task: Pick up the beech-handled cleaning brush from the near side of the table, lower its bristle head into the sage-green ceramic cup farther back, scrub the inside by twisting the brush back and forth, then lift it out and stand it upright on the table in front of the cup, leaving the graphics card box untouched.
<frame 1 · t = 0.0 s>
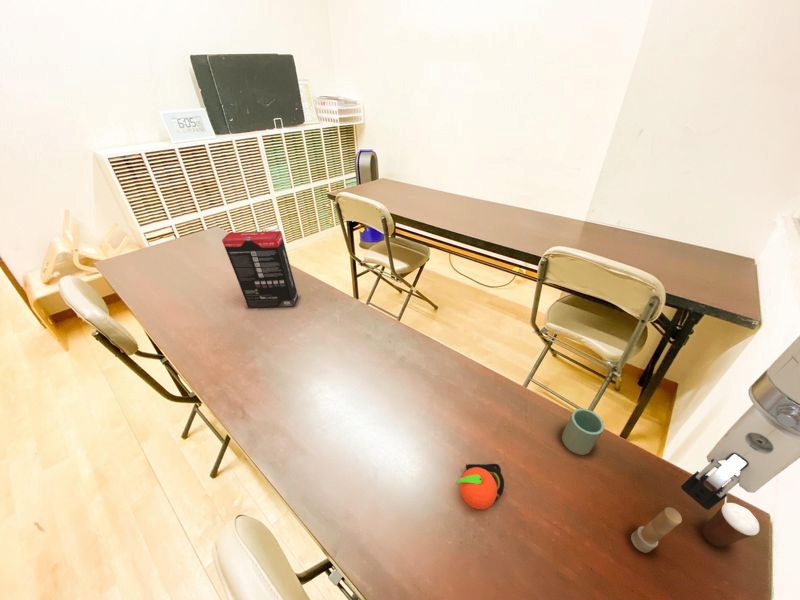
hand: (714, 479, 44), 22 cm above the table, tool pointing down, fingers open, 9 cm apart
cup: (576, 441, 72), on the table
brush: (640, 542, 56), on the table
graphics card box: (274, 303, 117), on the table
clementine: (473, 495, 63), on the table, touching tape measure
tape measure: (482, 483, 65), on the table, touching clementine
milkshake: (710, 534, 57), on the table
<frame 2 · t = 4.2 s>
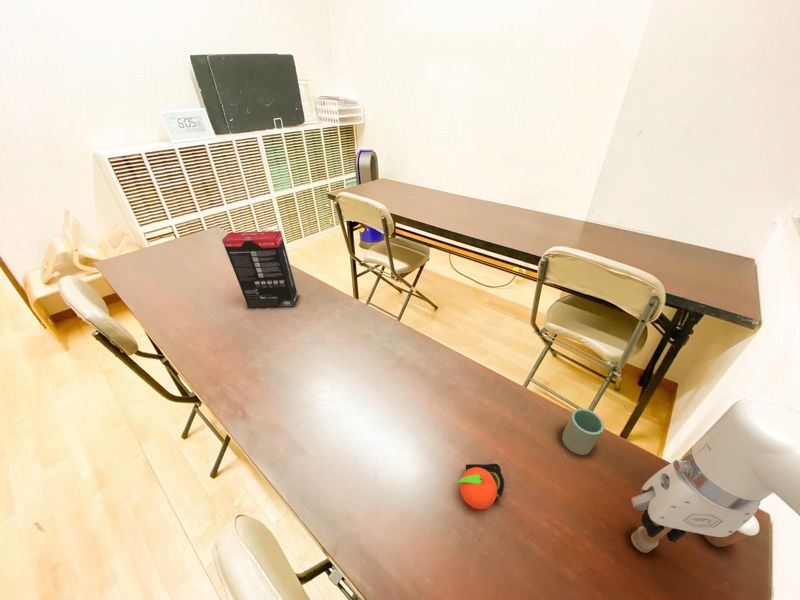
hand: (657, 528, 53), 7 cm above the table, tool pointing down, fingers closed on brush, 2 cm apart
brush: (640, 542, 56), on the table, touching gripper
everything else where it was.
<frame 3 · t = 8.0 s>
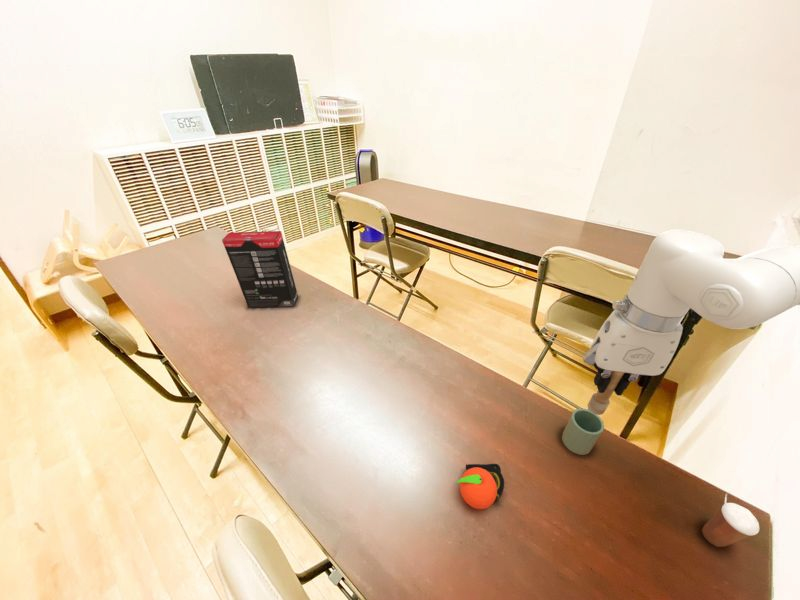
hand: (607, 387, 60), 19 cm above the table, tool pointing down, fingers closed on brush
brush: (595, 408, 64), point 13 cm above the table, touching gripper
everything else where it was.
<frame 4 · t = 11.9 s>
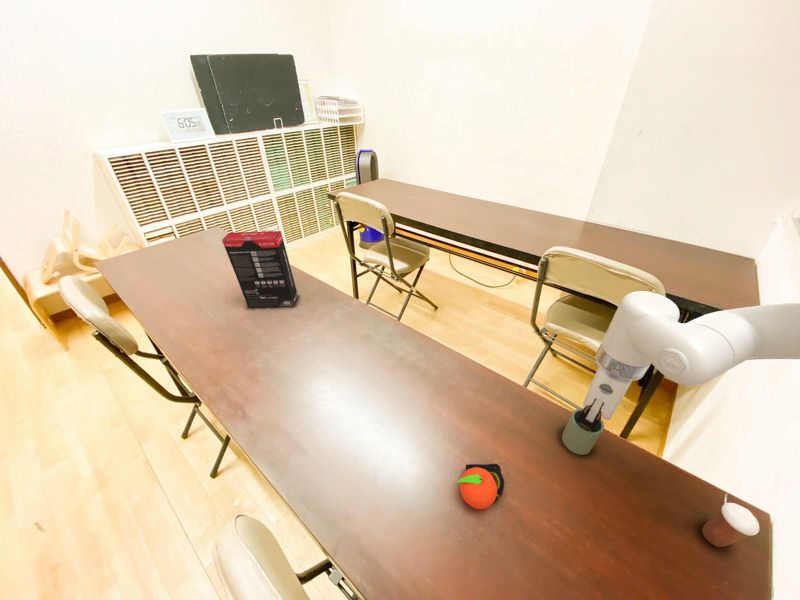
hand: (588, 419, 66), 9 cm above the table, tool pointing down, fingers closed on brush, 2 cm apart
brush: (579, 436, 70), point 2 cm above the table, touching gripper
everything else where it was.
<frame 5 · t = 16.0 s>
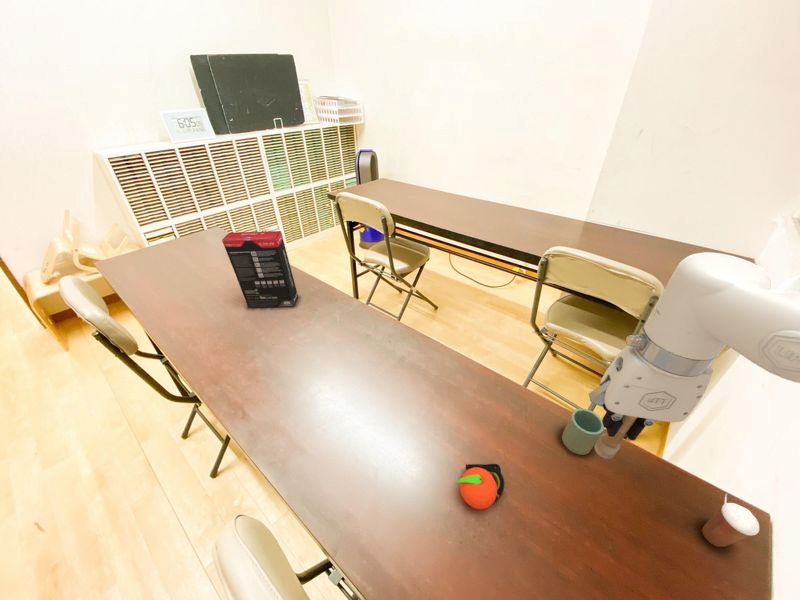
hand: (618, 429, 51), 21 cm above the table, tool pointing down, fingers closed on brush
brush: (604, 450, 55), point 14 cm above the table, touching gripper
everything else where it was.
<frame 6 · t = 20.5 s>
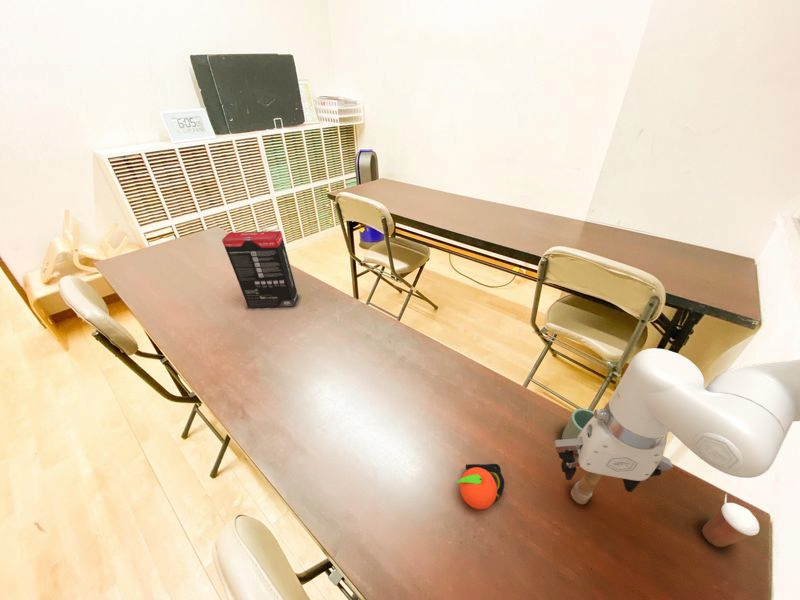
hand: (595, 477, 57), 9 cm above the table, tool pointing down, fingers open, 9 cm apart
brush: (579, 495, 63), on the table
everything else where it was.
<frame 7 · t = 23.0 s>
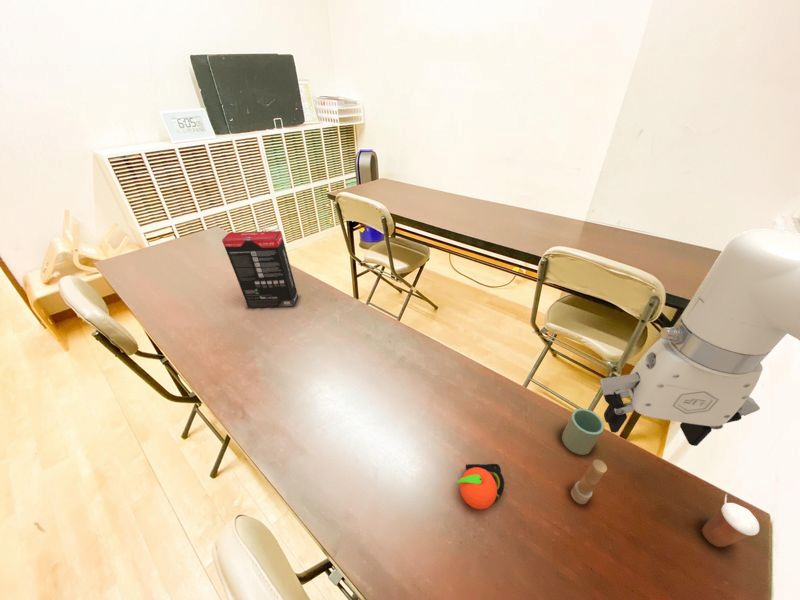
hand: (648, 429, 46), 26 cm above the table, tool pointing down, fingers open, 9 cm apart
nothing on the table moved.
at the end: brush 0.2 cm from the target spot on the table beside the cup, on the table; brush tilted 0°; graphics card box moved 0.2 cm from its start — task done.
